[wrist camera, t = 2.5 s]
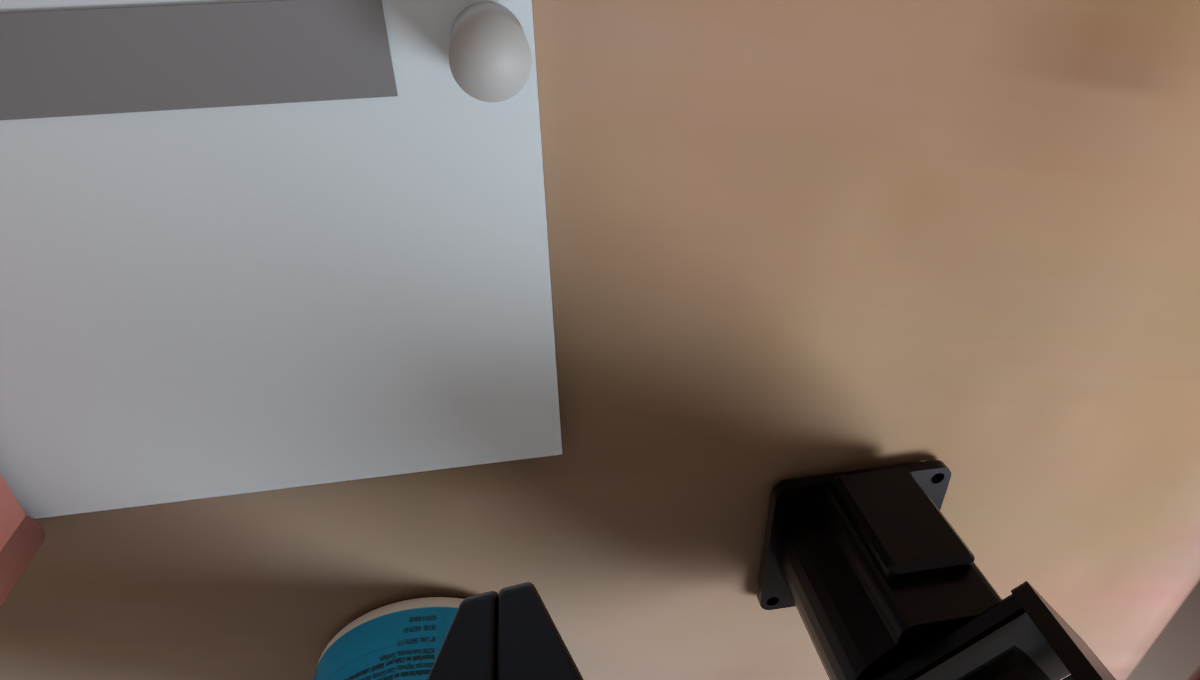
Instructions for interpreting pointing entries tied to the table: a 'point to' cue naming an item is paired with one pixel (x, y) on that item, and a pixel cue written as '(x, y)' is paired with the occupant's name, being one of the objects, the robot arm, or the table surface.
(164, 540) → the table surface
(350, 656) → the beverage bottle
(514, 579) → the table surface
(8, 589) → the panel
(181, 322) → the card
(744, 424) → the table surface
